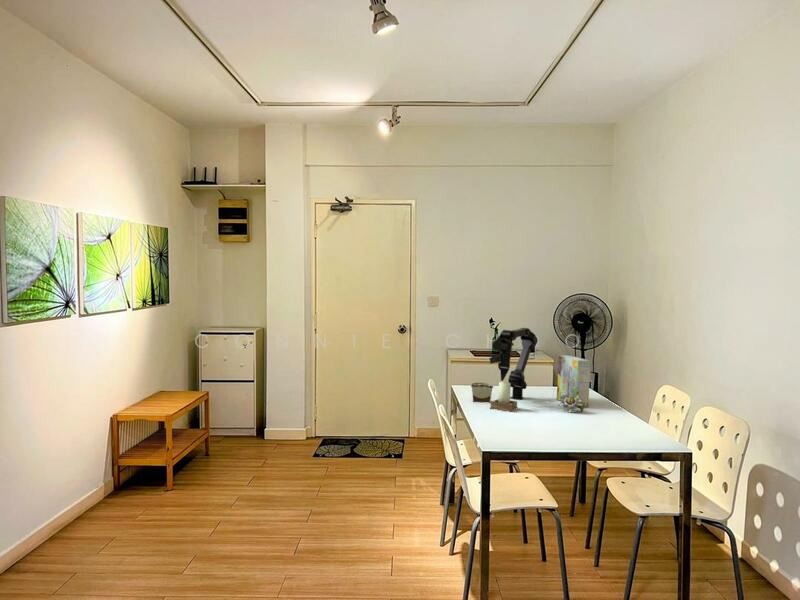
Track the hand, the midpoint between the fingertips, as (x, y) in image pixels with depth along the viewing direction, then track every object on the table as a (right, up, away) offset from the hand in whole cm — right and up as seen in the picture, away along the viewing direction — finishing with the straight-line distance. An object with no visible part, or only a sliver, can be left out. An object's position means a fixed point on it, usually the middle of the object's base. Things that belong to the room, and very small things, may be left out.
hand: (502, 380), depth 317 cm
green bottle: (-1, -12, -14) cm, 18 cm away
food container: (-11, -12, +3) cm, 17 cm away
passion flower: (+34, -14, -14) cm, 39 cm away
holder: (-1, -13, -14) cm, 19 cm away
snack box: (+41, -14, +6) cm, 43 cm away
